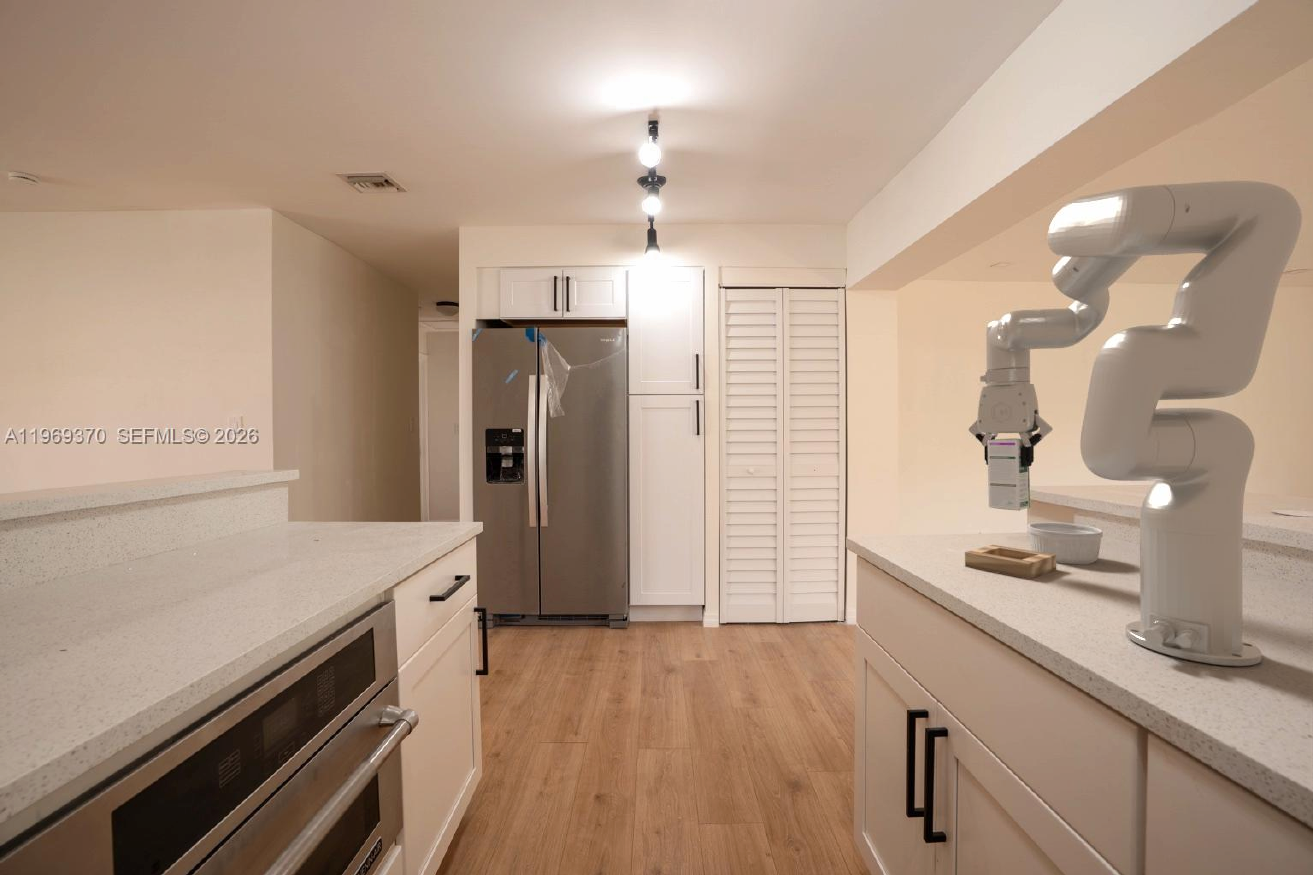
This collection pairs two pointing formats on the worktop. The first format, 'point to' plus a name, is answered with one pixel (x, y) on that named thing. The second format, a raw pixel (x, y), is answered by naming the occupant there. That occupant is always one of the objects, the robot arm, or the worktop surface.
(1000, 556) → the holder block
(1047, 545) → the ramekin
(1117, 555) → the worktop surface
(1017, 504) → the syrup box
